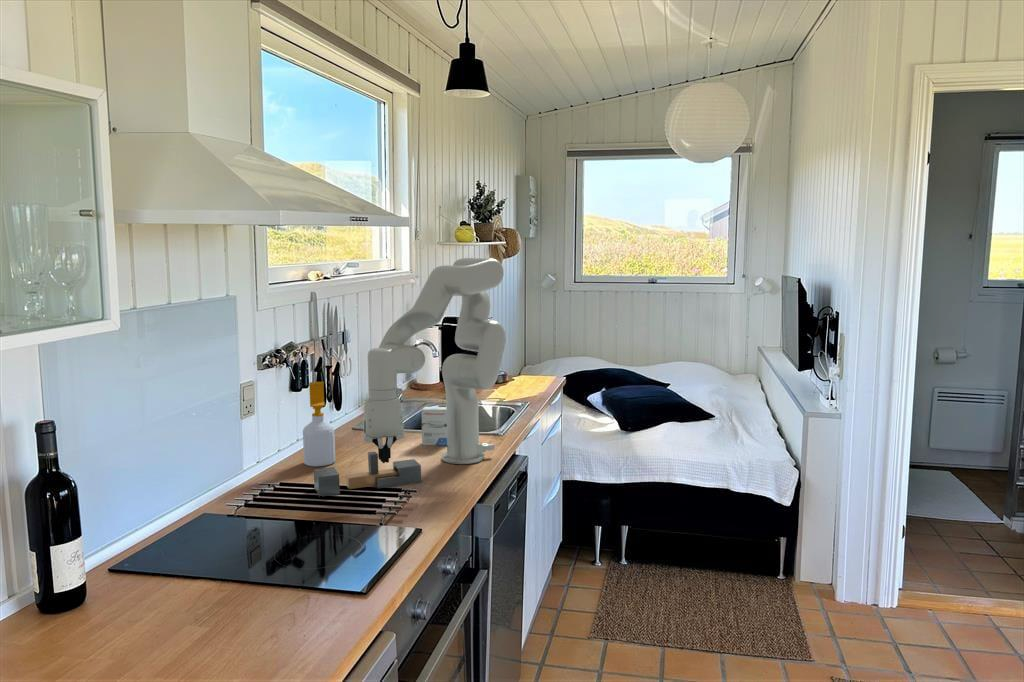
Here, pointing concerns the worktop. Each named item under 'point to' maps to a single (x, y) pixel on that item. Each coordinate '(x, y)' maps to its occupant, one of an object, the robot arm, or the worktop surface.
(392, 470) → the sliding bolt with handle
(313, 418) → the soap bottle
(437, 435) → the ink box
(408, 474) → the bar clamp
